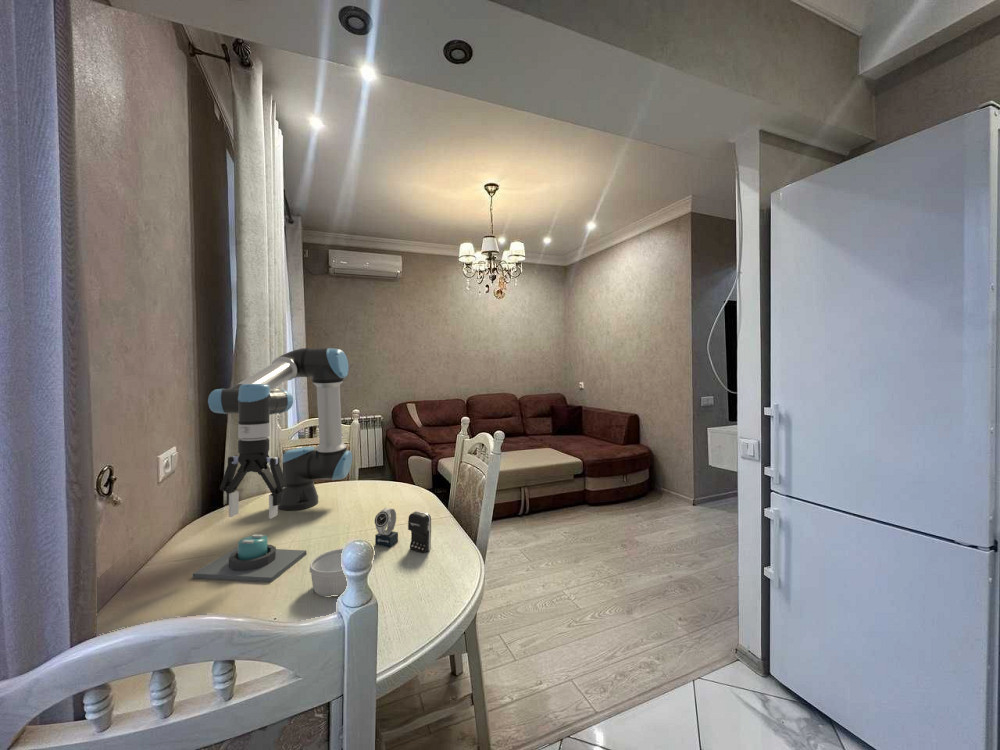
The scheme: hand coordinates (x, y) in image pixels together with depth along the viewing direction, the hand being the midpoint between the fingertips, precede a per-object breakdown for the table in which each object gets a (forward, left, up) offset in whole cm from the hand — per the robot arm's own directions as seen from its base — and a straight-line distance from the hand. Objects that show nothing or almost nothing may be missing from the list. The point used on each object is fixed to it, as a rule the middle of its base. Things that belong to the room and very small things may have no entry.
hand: (253, 516), depth 112 cm
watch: (-18, +32, -14) cm, 39 cm away
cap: (0, 0, -13) cm, 13 cm away
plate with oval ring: (0, 0, -14) cm, 14 cm away
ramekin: (+8, +29, -14) cm, 33 cm away
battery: (-14, +44, -14) cm, 48 cm away
